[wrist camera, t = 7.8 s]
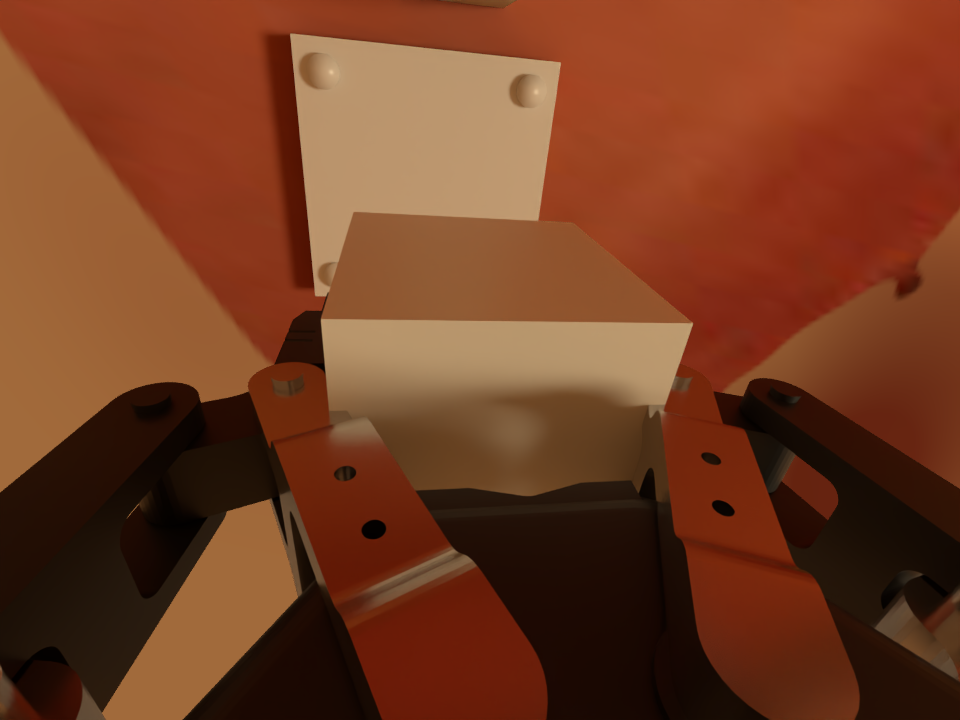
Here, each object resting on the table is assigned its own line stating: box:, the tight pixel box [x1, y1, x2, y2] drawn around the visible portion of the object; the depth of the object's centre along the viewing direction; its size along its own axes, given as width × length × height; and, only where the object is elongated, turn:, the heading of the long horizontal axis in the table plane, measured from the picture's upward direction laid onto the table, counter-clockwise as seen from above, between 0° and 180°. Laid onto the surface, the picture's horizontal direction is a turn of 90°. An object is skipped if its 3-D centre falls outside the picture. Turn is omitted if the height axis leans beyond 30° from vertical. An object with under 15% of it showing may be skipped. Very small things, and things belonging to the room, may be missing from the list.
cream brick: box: [321, 212, 693, 496], centre depth 11 cm, size 6×6×6 cm
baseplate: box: [290, 34, 561, 296], centre depth 29 cm, size 14×14×2 cm
